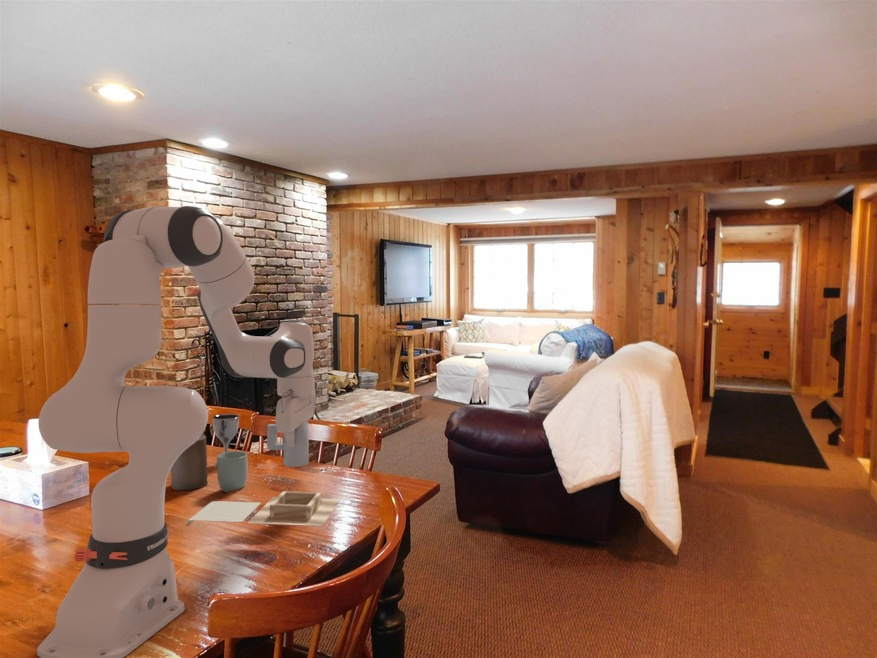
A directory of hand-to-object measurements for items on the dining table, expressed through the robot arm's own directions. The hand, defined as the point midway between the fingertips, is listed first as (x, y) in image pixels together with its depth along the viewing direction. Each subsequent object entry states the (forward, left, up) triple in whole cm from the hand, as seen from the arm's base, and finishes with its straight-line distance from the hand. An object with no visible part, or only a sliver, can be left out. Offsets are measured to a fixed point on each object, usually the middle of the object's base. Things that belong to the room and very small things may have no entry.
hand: (296, 442), depth 147 cm
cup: (+16, +23, -18) cm, 34 cm away
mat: (-2, +17, -18) cm, 25 cm away
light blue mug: (0, +2, -5) cm, 5 cm away
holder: (0, 0, -18) cm, 18 cm away
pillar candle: (+19, +37, -18) cm, 46 cm away
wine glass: (+42, +36, -18) cm, 58 cm away
